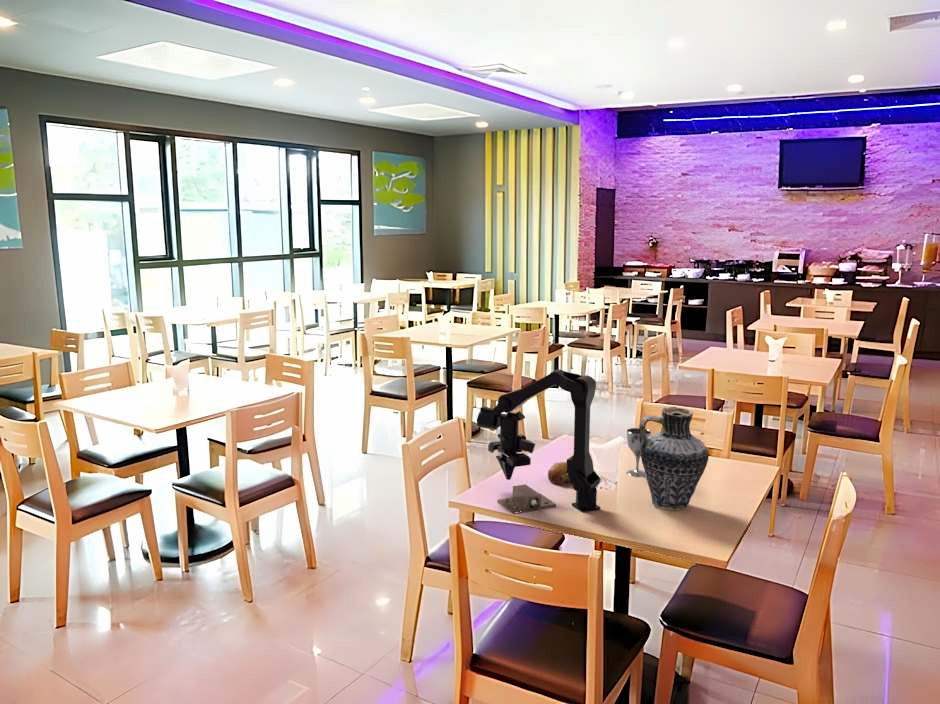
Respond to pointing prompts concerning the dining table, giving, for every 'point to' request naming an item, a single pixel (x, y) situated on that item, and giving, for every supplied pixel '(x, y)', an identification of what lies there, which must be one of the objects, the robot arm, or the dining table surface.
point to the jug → (672, 459)
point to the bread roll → (559, 474)
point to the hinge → (525, 500)
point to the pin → (533, 502)
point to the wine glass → (636, 448)
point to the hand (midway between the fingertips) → (508, 479)
